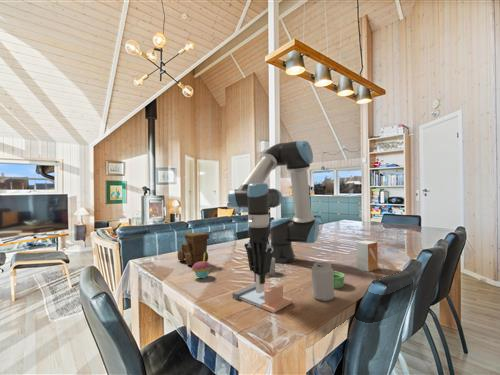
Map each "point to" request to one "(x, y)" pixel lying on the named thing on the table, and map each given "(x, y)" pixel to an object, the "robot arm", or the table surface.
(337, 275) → the ramekin
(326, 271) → the can
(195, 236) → the wooden toy train
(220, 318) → the table surface
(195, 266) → the cupcake
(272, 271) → the mug
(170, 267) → the table surface
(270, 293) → the stub
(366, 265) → the small box
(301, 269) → the table surface
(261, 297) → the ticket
